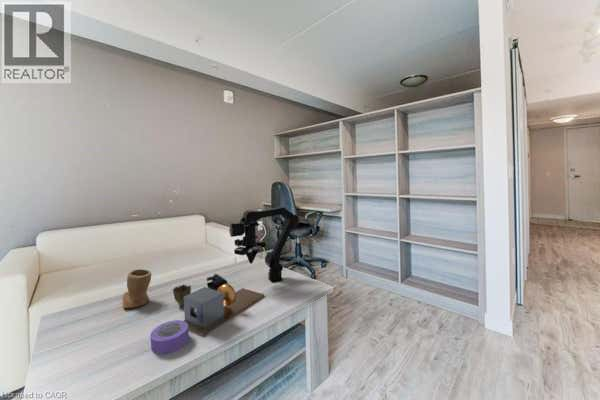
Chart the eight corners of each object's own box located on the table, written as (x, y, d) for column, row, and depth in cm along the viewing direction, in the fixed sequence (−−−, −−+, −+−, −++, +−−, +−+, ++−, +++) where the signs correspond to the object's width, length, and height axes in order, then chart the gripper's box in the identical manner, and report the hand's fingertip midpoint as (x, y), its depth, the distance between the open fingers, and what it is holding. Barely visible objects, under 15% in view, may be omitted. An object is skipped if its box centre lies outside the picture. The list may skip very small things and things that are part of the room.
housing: (242, 290, 130) (242, 268, 129) (264, 296, 123) (263, 273, 122) (178, 325, 99) (177, 297, 98) (202, 336, 92) (201, 306, 91)
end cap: (228, 290, 130) (227, 278, 129) (214, 295, 125) (214, 281, 125) (220, 284, 137) (219, 272, 137) (206, 288, 133) (206, 275, 132)
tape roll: (158, 360, 81) (157, 345, 81) (145, 344, 89) (145, 330, 88) (194, 341, 90) (194, 328, 90) (180, 328, 98) (179, 316, 97)
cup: (195, 302, 118) (194, 285, 118) (183, 309, 111) (182, 292, 111) (182, 299, 121) (181, 283, 120) (170, 307, 114) (169, 289, 113)
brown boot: (153, 304, 116) (151, 273, 115) (121, 312, 110) (119, 278, 108) (151, 292, 129) (150, 263, 127) (123, 298, 122) (121, 268, 121)
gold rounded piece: (221, 301, 115) (220, 281, 114) (236, 306, 110) (235, 286, 109) (188, 319, 100) (187, 297, 99) (203, 326, 96) (202, 303, 95)
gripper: (250, 229, 146) (251, 256, 147) (225, 236, 130) (226, 266, 131) (265, 231, 140) (266, 259, 142) (242, 238, 124) (243, 269, 126)
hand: (251, 263), depth 135 cm, fingers closed
